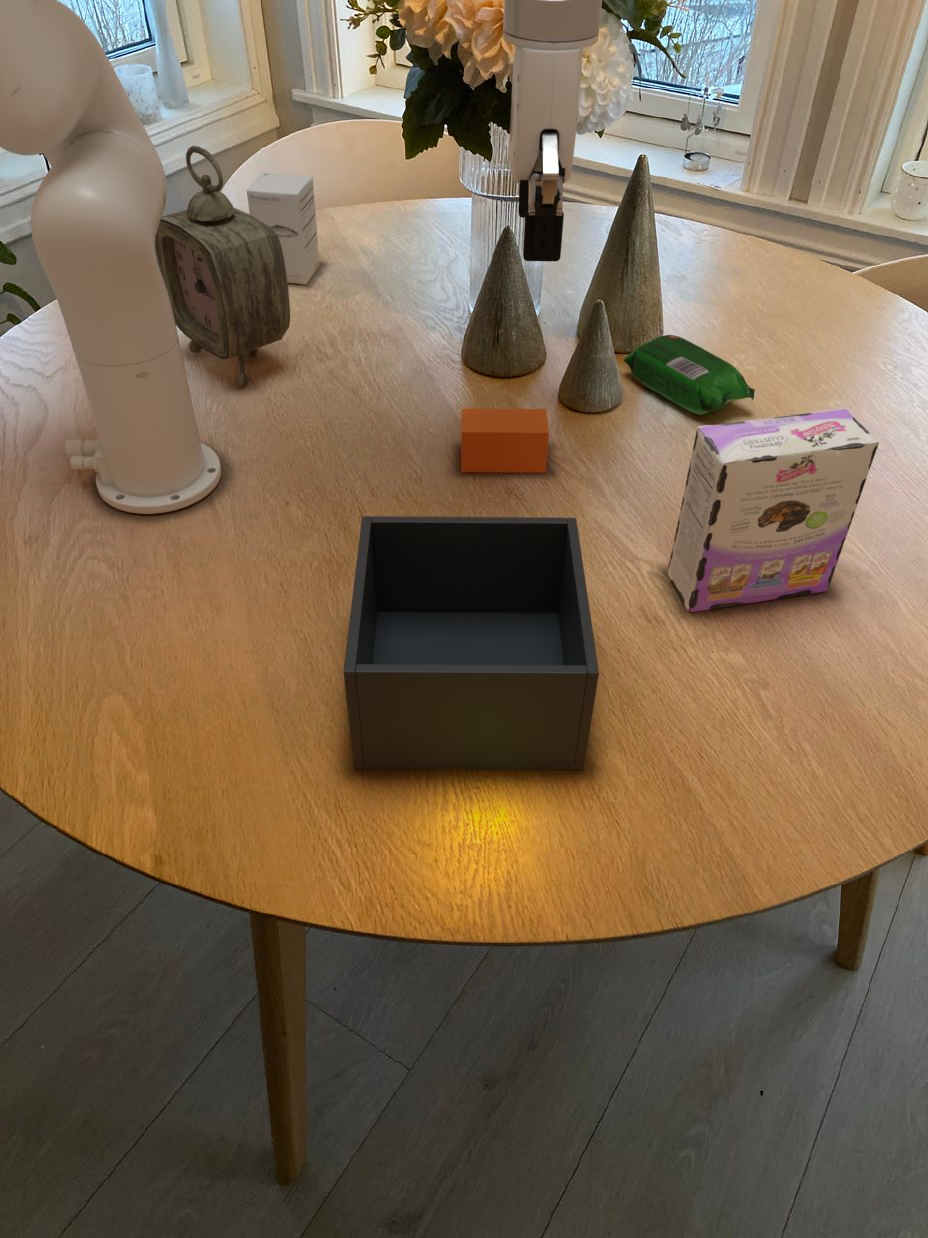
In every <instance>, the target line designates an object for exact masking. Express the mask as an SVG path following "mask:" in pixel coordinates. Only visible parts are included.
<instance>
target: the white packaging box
mask: <svg viewBox="0 0 928 1238" xmlns="http://www.w3.org/2000/svg"><path fill="white" fill-rule="evenodd" d="M246 196H247V204H248V212H249V214H250V215H252V216H253V217H255V218H257V219H258V220H260V221H262V222H263V223H265V224H266V225H268V226H269V227H271V228H272V229H273V230H274V232H275V233H276V234H277V235H278V237H279V240H280V243H281V247H282V251H283V256H284V262H285V268H286V275H287V282H288V284H298V285H303V286H305V285H308V283H309V282H310V280H311V279H312V277H313V276H314V274H315V273H316V271H317V269H318V268H319V266H320V253H319V238H318V227H317V226H318V225H317V216H316V215H317V213H316V206H315V205H316V204H315V203H316V202H315V192H314V177H313V176H312V175H311V176H310V175H297V174H285V173H272V172H261V173H260V174H259V175H258V176H257V178H255V180H254V181H253V182H252V183H251V184H250V186H249V187H248V188H247V189H246Z"/></svg>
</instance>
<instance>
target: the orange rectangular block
mask: <svg viewBox="0 0 928 1238" xmlns="http://www.w3.org/2000/svg"><path fill="white" fill-rule="evenodd" d="M549 428H550V427H549V421H548V413H547V409H546V408H461V428H460V430H461V432H460V434H461V435H460V439H461V440H460V451H461V452H460V466H461V467H460V468H461V469H460V472H461V473H505V474H507V473H509V474H510V473H512V474H514V473H517V474H520V473H523V474H524V473H526V474H528V473H529V474H530V473H531V474H532V473H533V474H546V472H547V462H548V451H549V439H550V429H549Z"/></svg>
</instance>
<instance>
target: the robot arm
mask: <svg viewBox="0 0 928 1238" xmlns="http://www.w3.org/2000/svg"><path fill="white" fill-rule="evenodd" d="M602 5H603V0H503V26H502V28H503V29H502V32H503V33H502V38H503V40H504V41H505V42H507V43H508V44H510V45H513V46H514V56H513V67H512V79H511V85H512V86H511V99H510V100H511V101H510V102H511V104H510V105H511V106H510V123H509V124H510V125H509V126H510V127H509V141H508V157H509V168H510V176H511V179H512V180H513V181H514V182H515V183H516V184H519V186H518V187H519V188H518V189H519V190H518V211H517V212H518V213H517V214H518V216H519V217H520V218H522V219H524V227H523V246H522V259H523V260H524V261H526V262H559V261H560V260H561V258H562V257H561V256H562V244H563V243H562V242H563V232H564V231H563V229H564V219H565V218H564V217H565V213H564V211H563V210H564V209H563V208H564V206H563V203H564V202H563V200H564V198H563V197H564V184H565V183H567V182H568V181H569V180H570V179H571V176H572V171H573V164H574V154H575V146H576V136H577V126H578V118H579V117H578V116H579V105H580V93H581V81H582V69H583V68H582V67H583V55H584V54H583V53H584V48H588V47H591V46H594V45H596V44H597V43H598V42H599V37H600V26H601V17H602ZM0 148H1V149H2V150H5V151H7V152H9V153H12V154H15V155H19V156H37V155H42V154H43V155H44V158H45V159H46V160H47V162H48V163H49V165H50V169H49V170H48V172H47V173H46V175H45V176H44V177H43V179H42V181H41V182H40V184H39V186H38V188H37V190H36V193H35V196H34V198H33V202H32V207H31V215H30V230H31V238H32V243H33V246H34V249H35V252H36V255H37V258H38V260H39V263H40V265H41V267H42V270H43V271H44V274H45V276H46V278H47V280H48V282H49V285H50V287H51V289H52V291H53V293H54V296H55V298H56V301H57V303H58V306H59V309H60V312H61V316H62V318H63V322H64V324H65V327H66V331H67V335H68V337H69V341H70V345H71V347H72V350H73V353H74V356H75V361H76V364H77V367H78V370H79V374H80V377H81V381H82V385H83V388H84V391H85V394H86V398H87V401H88V404H89V408H90V412H91V415H92V418H93V422H94V425H95V429H96V433H97V437H96V438H95V440H93V439H91V440H90V439H89V440H88V439H87V440H86V439H66V440H65V441H64V454H65V456H66V458H68V459H69V463H70V464H69V465H70V468H71V469H72V470H94V471H95V472H96V475H95V485H96V489H97V491H98V495H99V496H100V497H101V499H102V500H103V501H104V502H105V503H106V504H108V505H109V506H110V507H113V508H115V509H117V510H119V511H123V512H127V513H132V514H140V515H155V514H164V513H169V512H173V511H178V510H181V509H184V508H187V507H189V506H191V505H194V504H196V503H198V502H199V501H201V500H202V499H204V498H206V497H207V496H208V495H209V494H211V492H213V490H214V489H215V488H216V487H217V485H218V484H219V482H220V479H221V477H222V466H221V465H222V464H221V460H220V458H219V456H218V454H217V453H216V452H215V450H214V449H213V448H211V447H210V446H208V445H207V444H205V443H202V442H201V437H200V434H199V429H198V424H197V419H196V414H195V410H194V405H193V399H192V395H191V390H190V385H189V381H188V376H187V372H186V371H187V370H186V366H185V361H184V357H183V352H182V347H181V342H180V337H179V333H178V329H177V325H176V324H175V319H174V314H173V310H172V306H171V302H170V298H169V295H168V292H167V288H166V285H165V283H164V280H163V277H162V274H161V271H160V268H159V264H158V260H157V255H156V249H155V236H156V233H157V230H158V227H159V222H160V220H161V217H163V215H164V212H165V208H166V205H167V200H168V181H167V175H166V172H165V169H164V166H163V163H162V161H161V158H160V156H159V154H158V152H157V150H156V147H155V146H154V143H153V142H152V139H151V138H150V136H149V134H148V132H147V130H146V128H145V126H144V124H143V122H142V121H141V118H140V116H139V115H138V113H137V111H136V109H135V107H134V105H133V103H132V101H131V99H130V97H129V95H128V94H127V92H126V90H125V88H124V86H123V84H122V82H121V80H120V78H119V76H118V75H117V73H116V71H115V69H114V67H113V64H112V63H111V61H110V59H109V57H108V56H107V54H106V52H105V50H104V48H103V46H102V45H101V43H100V42H99V40H98V38H97V37H96V35H95V34H94V32H92V30H91V29H90V27H89V26H88V25H87V24H86V23H85V21H84V20H83V19H82V18H81V17H80V16H79V15H78V14H77V13H76V12H75V11H73V10H72V9H71V7H68V6H67V5H66V4H64V3H63V2H61V1H59V0H0Z"/></svg>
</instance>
